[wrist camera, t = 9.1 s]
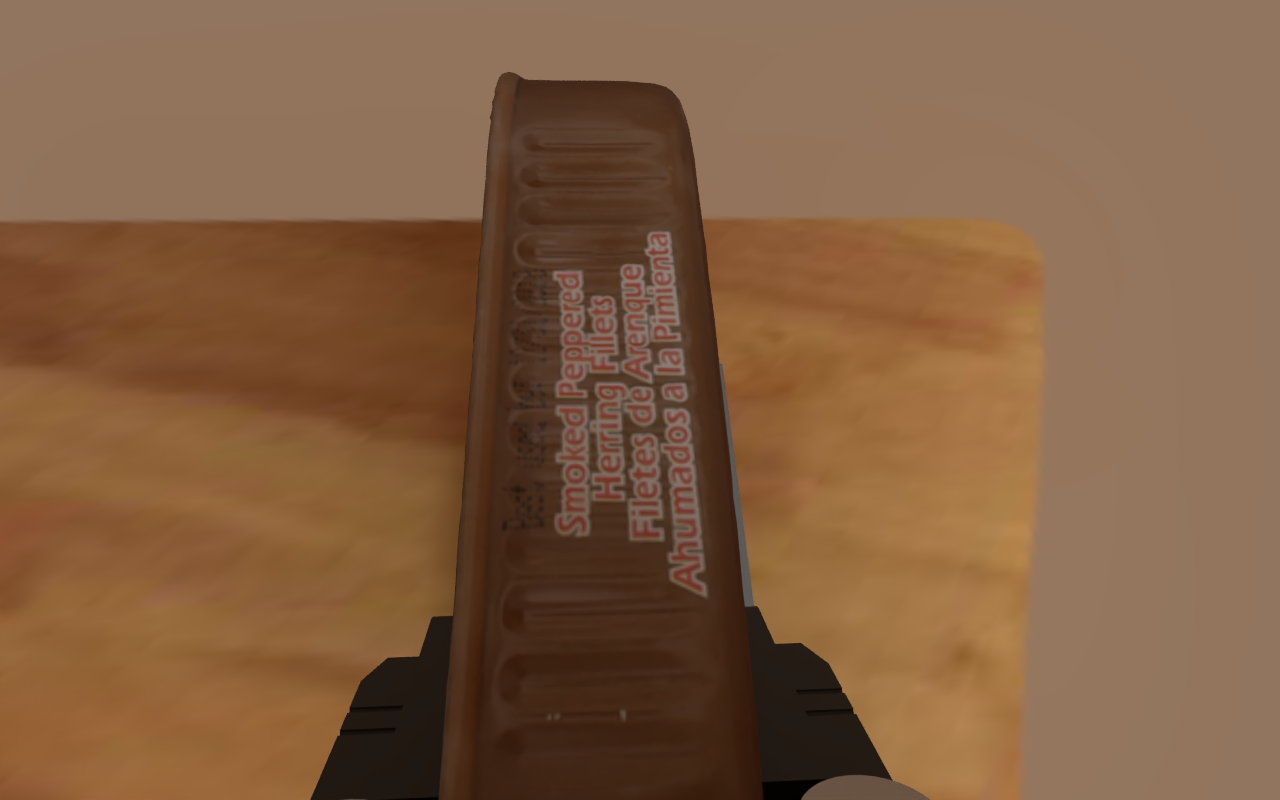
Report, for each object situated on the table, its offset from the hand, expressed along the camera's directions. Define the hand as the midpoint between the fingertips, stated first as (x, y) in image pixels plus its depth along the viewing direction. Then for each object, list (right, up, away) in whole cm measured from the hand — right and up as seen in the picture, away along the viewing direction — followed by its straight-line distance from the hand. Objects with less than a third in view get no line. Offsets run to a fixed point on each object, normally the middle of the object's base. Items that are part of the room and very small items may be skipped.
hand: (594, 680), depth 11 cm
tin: (0, -1, +5) cm, 5 cm away
